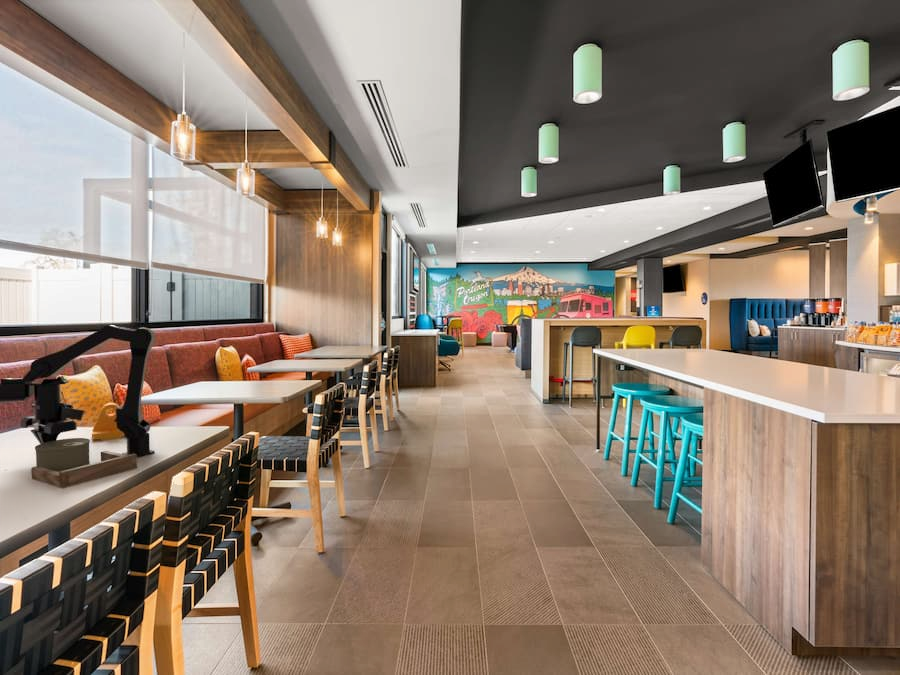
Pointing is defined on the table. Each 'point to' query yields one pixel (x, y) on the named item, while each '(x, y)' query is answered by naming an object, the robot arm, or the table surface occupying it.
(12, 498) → the table surface
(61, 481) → the pocket
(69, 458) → the can
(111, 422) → the bracket
